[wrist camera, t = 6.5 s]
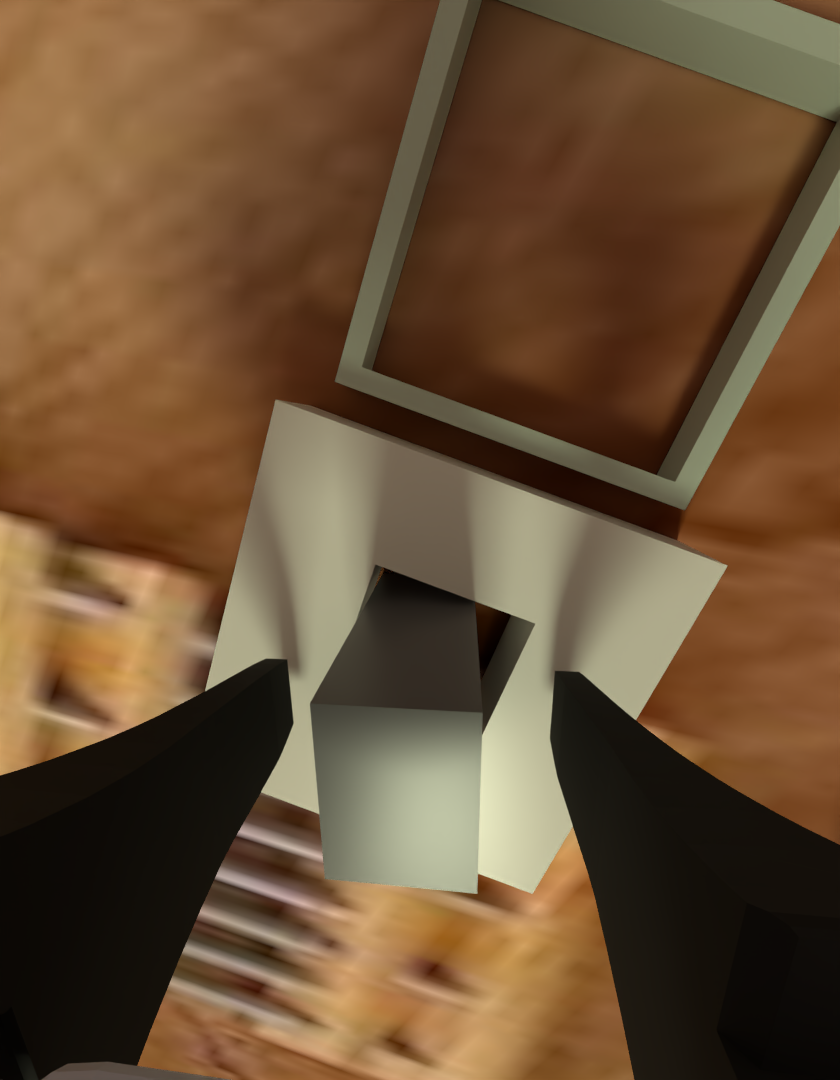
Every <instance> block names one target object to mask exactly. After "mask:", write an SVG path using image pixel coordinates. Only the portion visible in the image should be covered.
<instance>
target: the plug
mask: <svg viewBox="0 0 840 1080" xmlns="http://www.w3.org/2000/svg"><path fill="white" fill-rule="evenodd" d="M310 712H311V724H312V735H313V747H314V758H315V770H316V781H317V793H318V804H319V816H320V827H321V839H322V850H323V862H324V873H325V879H332V880H342V881H352V882H363V883H373V884H383V885H394V886H404V887H414V888H425V889H435V890H445V891H456V892H466V893H476V894H477V881H478V849H479V816H480V784H481V751H482V719H483V710H482V696H481V682H480V667H479V653H478V639H477V625H476V610H475V601H473V600H470V599H467V598H465V597H462V596H459V595H457V594H454V593H451V592H449V591H446V590H443V589H440V588H438V587H435V586H432V585H430V584H427V583H424V582H421V581H419V580H416V579H413V578H411V577H408V576H405V575H403V574H383V575H382V576H381V578H380V580H379V582H378V584H377V585H376V587H375V589H374V591H373V592H372V594H371V596H370V598H369V599H368V601H367V603H366V605H365V607H364V608H363V610H362V612H361V614H360V615H359V617H358V619H357V621H356V622H355V624H354V626H353V628H352V630H351V631H350V633H349V635H348V637H347V638H346V640H345V642H344V644H343V645H342V647H341V649H340V651H339V653H338V654H337V656H336V658H335V660H334V661H333V663H332V665H331V667H330V668H329V670H328V672H327V674H326V676H325V677H324V679H323V681H322V683H321V684H320V686H319V688H318V690H317V691H316V693H315V695H314V697H313V699H312V700H311V702H310Z"/></svg>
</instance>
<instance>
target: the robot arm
mask: <svg viewBox="0 0 840 1080" xmlns="http://www.w3.org/2000/svg"><path fill="white" fill-rule="evenodd" d="M293 724H294V721H293V711H292V701H291V691H290V681H289V671H288V661H287V659H267V658H266V659H264V660H262V661H259V662H257V663H255V664H253V665H251V666H250V667H248V668H246V669H244V670H242V671H240V672H239V673H237V674H235V675H233V676H232V677H230V678H228V679H226V680H224V681H223V682H221V683H219V684H217V685H216V686H214V687H212V688H210V689H208V690H207V691H205V692H203V693H201V694H199V695H198V696H196V697H194V698H192V699H190V700H188V701H186V702H184V703H182V704H180V705H178V706H176V707H174V708H173V709H171V710H169V711H167V712H165V713H163V714H161V715H159V716H157V717H155V718H153V719H151V720H149V721H146V722H144V723H142V724H140V725H138V726H136V727H133V728H131V729H129V730H126V731H124V732H122V733H119V734H117V735H115V736H112V737H110V738H107V739H105V740H103V741H100V742H97V743H95V744H92V745H89V746H86V747H84V748H81V749H78V750H76V751H73V752H70V753H68V754H65V755H62V756H59V757H57V758H54V759H51V760H48V761H45V762H42V763H39V764H36V765H33V766H30V767H27V768H24V769H21V770H17V771H14V772H11V773H7V774H4V775H1V776H0V1080H229V1079H222V1078H215V1077H209V1076H202V1075H195V1074H188V1073H181V1072H174V1071H168V1070H161V1069H154V1068H147V1067H140V1066H137V1064H138V1062H139V1059H140V1056H141V1054H142V1051H143V1048H144V1046H145V1043H146V1041H147V1038H148V1035H149V1033H150V1030H151V1028H152V1025H153V1023H154V1020H155V1018H156V1015H157V1013H158V1010H159V1008H160V1005H161V1003H162V1000H163V998H164V995H165V993H166V990H167V988H168V985H169V983H170V980H171V978H172V975H173V973H174V970H175V968H176V966H177V963H178V961H179V958H180V956H181V954H182V951H183V949H184V947H185V944H186V942H187V940H188V937H189V935H190V933H191V930H192V928H193V926H194V923H195V921H196V919H197V916H198V914H199V912H200V909H201V907H202V905H203V903H204V901H205V898H206V896H207V894H208V892H209V890H210V887H211V885H212V883H213V881H214V879H215V877H216V874H217V872H218V870H219V868H220V866H221V863H222V861H223V859H224V857H225V855H226V854H227V852H228V850H229V848H230V846H231V844H232V842H233V840H234V838H235V837H236V835H237V833H238V831H239V830H240V828H241V826H242V824H243V823H244V821H245V819H246V817H247V816H248V814H249V812H250V810H251V809H252V807H253V805H254V803H255V802H256V800H257V798H258V796H259V795H260V793H261V791H262V789H263V787H264V786H265V784H266V782H267V780H268V779H269V777H270V775H271V773H272V771H273V770H274V768H275V766H276V764H277V762H278V760H279V759H280V756H281V754H282V752H283V749H284V747H285V744H286V742H287V739H288V737H289V734H290V732H291V729H292V727H293ZM550 742H551V748H552V753H553V759H554V763H555V768H556V773H557V778H558V781H559V784H560V787H561V790H562V794H563V797H564V800H565V803H566V806H567V809H568V812H569V815H570V819H571V822H572V825H573V828H574V831H575V834H576V837H577V840H578V843H579V846H580V849H581V852H582V855H583V859H584V862H585V865H586V868H587V871H588V874H589V878H590V881H591V885H592V888H593V892H594V895H595V899H596V904H597V908H598V912H599V917H600V921H601V925H602V930H603V934H604V938H605V943H606V947H607V951H608V956H609V961H610V965H611V970H612V974H613V979H614V984H615V988H616V993H617V997H618V1002H619V1006H620V1011H621V1016H622V1021H623V1025H624V1030H625V1035H626V1040H627V1045H628V1050H629V1055H630V1060H631V1065H632V1070H633V1075H634V1079H635V1080H840V845H839V844H837V843H835V842H832V841H830V840H828V839H826V838H824V837H822V836H820V835H818V834H816V833H814V832H812V831H810V830H808V829H806V828H804V827H802V826H800V825H798V824H796V823H794V822H792V821H791V820H789V819H787V818H785V817H783V816H781V815H779V814H777V813H775V812H774V811H772V810H770V809H768V808H767V807H765V806H763V805H761V804H759V803H758V802H756V801H754V800H752V799H751V798H749V797H747V796H745V795H744V794H742V793H740V792H738V791H737V790H735V789H733V788H732V787H730V786H728V785H727V784H725V783H723V782H722V781H720V780H718V779H717V778H715V777H714V776H712V775H711V774H709V773H708V772H706V771H705V770H703V769H702V768H700V767H699V766H697V765H695V764H694V763H692V762H691V761H689V760H688V759H686V758H685V757H684V756H682V755H681V754H679V753H678V752H676V751H675V750H674V749H672V748H671V747H670V746H668V745H667V744H666V743H664V742H663V741H662V740H660V739H659V738H658V737H656V736H655V735H654V734H652V733H651V732H650V731H648V730H647V729H646V728H645V727H643V726H642V725H641V724H640V723H638V722H637V721H636V720H635V719H634V718H632V717H631V716H630V715H629V714H627V713H626V712H625V711H624V710H623V709H622V708H620V707H619V706H618V705H617V704H616V703H615V702H613V701H612V700H611V699H610V698H609V697H608V696H607V695H605V694H604V693H603V692H602V691H601V690H600V689H599V688H598V687H596V686H595V685H594V684H593V683H592V682H591V681H590V680H589V679H587V678H586V677H585V676H584V675H583V674H581V673H580V672H573V671H555V676H554V689H553V702H552V715H551V728H550Z"/></svg>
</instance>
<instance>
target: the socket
mask: <svg viewBox="0 0 840 1080" xmlns="http://www.w3.org/2000/svg"><path fill="white" fill-rule="evenodd" d="M382 567H384V568H386V569H389V570H392V571H394V572H397V573H400V574H403V575H405V576H408V577H411V578H413V579H416V580H419V581H421V582H424V583H427V584H430V585H432V586H435V587H438V588H440V589H443V590H446V591H449V592H451V593H454V594H457V595H459V596H462V597H465V598H467V599H470V600H473V601H476V602H478V603H481V604H484V605H486V606H489V607H492V608H494V609H497V610H500V611H503V612H505V613H508V614H511V617H510V619H509V621H508V623H507V625H506V628H505V630H504V632H503V634H502V636H501V639H500V641H499V643H498V645H497V647H496V650H495V652H494V654H493V656H492V658H491V660H490V663H489V665H488V667H487V669H486V671H485V674H484V676H483V678H482V680H481V696H482V710H483V719H482V751H481V784H480V816H479V849H478V874H481V875H484V876H486V877H489V878H492V879H494V880H497V881H500V882H502V883H505V884H508V885H510V886H513V887H516V888H518V889H521V890H524V891H526V892H529V893H532V894H533V892H534V890H535V889H536V887H537V885H538V884H539V882H540V880H541V879H542V877H543V875H544V874H545V872H546V870H547V869H548V867H549V865H550V864H551V862H552V860H553V859H554V857H555V855H556V853H557V852H558V850H559V848H560V847H561V845H562V843H563V842H564V840H565V838H566V837H567V835H568V833H569V832H570V830H571V828H572V827H573V825H572V822H571V819H570V815H569V812H568V809H567V806H566V803H565V800H564V797H563V794H562V790H561V787H560V784H559V781H558V778H557V773H556V768H555V763H554V759H553V753H552V748H551V742H550V728H551V715H552V702H553V689H554V676H555V671H573V672H580V673H581V674H583V675H584V676H585V677H586V678H587V679H589V680H590V681H591V682H592V683H593V684H594V685H595V686H596V687H598V688H599V689H600V690H601V691H602V692H603V693H604V694H605V695H607V696H608V697H609V698H610V699H611V700H612V701H613V702H615V703H616V704H617V705H618V706H619V707H620V708H622V709H623V710H624V711H625V712H626V713H627V714H629V715H630V716H631V717H632V718H634V719H635V720H636V719H637V717H638V716H639V714H640V712H641V711H642V709H643V707H644V706H645V704H646V702H647V701H648V699H649V697H650V696H651V694H652V692H653V690H654V689H655V687H656V685H657V684H658V682H659V680H660V679H661V677H662V675H663V674H664V672H665V670H666V669H667V667H668V665H669V664H670V662H671V660H672V659H673V657H674V655H675V654H676V652H677V650H678V648H679V647H680V645H681V643H682V642H683V640H684V638H685V637H686V635H687V633H688V632H689V630H690V628H691V627H692V625H693V623H694V622H695V620H696V618H697V617H698V615H699V613H700V611H701V610H702V608H703V606H704V605H705V603H706V601H707V600H708V598H709V596H710V595H711V593H712V591H713V590H714V588H715V586H716V585H717V583H718V581H719V580H720V578H721V576H722V575H723V573H724V571H725V569H726V568H727V565H725V564H723V563H721V562H719V561H717V560H715V559H713V558H711V557H709V556H707V555H705V554H703V553H701V552H699V551H697V550H695V549H693V548H691V547H689V546H687V545H685V544H683V543H682V542H680V541H677V540H675V539H672V538H669V537H667V536H664V535H661V534H658V533H656V532H653V531H650V530H648V529H645V528H642V527H639V526H637V525H634V524H631V523H628V522H626V521H623V520H620V519H618V518H615V517H612V516H609V515H607V514H604V513H601V512H599V511H596V510H593V509H590V508H588V507H585V506H582V505H580V504H577V503H574V502H571V501H569V500H566V499H563V498H561V497H558V496H555V495H552V494H550V493H547V492H544V491H542V490H539V489H536V488H533V487H531V486H528V485H525V484H522V483H520V482H517V481H514V480H512V479H509V478H506V477H503V476H501V475H498V474H495V473H493V472H490V471H487V470H484V469H482V468H479V467H476V466H474V465H471V464H468V463H465V462H463V461H460V460H457V459H455V458H452V457H449V456H446V455H444V454H441V453H438V452H436V451H433V450H430V449H427V448H425V447H422V446H419V445H417V444H414V443H411V442H408V441H406V440H403V439H400V438H397V437H395V436H392V435H389V434H387V433H384V432H381V431H378V430H376V429H373V428H370V427H368V426H365V425H362V424H359V423H357V422H354V421H351V420H349V419H346V418H343V417H340V416H338V415H335V414H332V413H330V412H327V411H324V410H321V409H319V408H316V407H313V406H310V405H305V404H299V403H293V402H287V401H282V400H275V404H274V408H273V413H272V417H271V421H270V425H269V429H268V433H267V437H266V441H265V446H264V450H263V454H262V458H261V462H260V466H259V470H258V475H257V479H256V483H255V487H254V491H253V495H252V499H251V504H250V508H249V512H248V516H247V520H246V524H245V528H244V532H243V537H242V541H241V545H240V549H239V553H238V557H237V561H236V566H235V570H234V574H233V578H232V582H231V586H230V590H229V595H228V599H227V603H226V607H225V611H224V615H223V619H222V623H221V628H220V632H219V636H218V640H217V644H216V648H215V652H214V657H213V661H212V665H211V669H210V673H209V677H208V681H207V685H206V690H205V691H207V690H208V689H210V688H212V687H214V686H216V685H217V684H219V683H221V682H223V681H224V680H226V679H228V678H230V677H232V676H233V675H235V674H237V673H239V672H240V671H242V670H244V669H246V668H248V667H250V666H251V665H253V664H255V663H257V662H259V661H262V660H264V659H266V658H267V659H287V661H288V671H289V681H290V691H291V701H292V711H293V721H294V724H293V727H292V729H291V732H290V734H289V737H288V739H287V742H286V744H285V747H284V749H283V752H282V754H281V756H280V759H279V760H278V762H277V764H276V766H275V768H274V770H273V771H272V773H271V775H270V777H269V779H268V780H267V782H266V784H265V786H264V787H263V789H262V791H261V792H262V793H265V794H267V795H270V796H273V797H275V798H278V799H281V800H283V801H286V802H289V803H291V804H294V805H297V806H299V807H302V808H305V809H307V810H310V811H313V812H315V813H318V814H319V804H318V793H317V781H316V770H315V758H314V747H313V735H312V724H311V712H310V702H311V700H312V699H313V697H314V695H315V693H316V691H317V690H318V688H319V686H320V684H321V683H322V681H323V679H324V677H325V676H326V674H327V672H328V670H329V668H330V667H331V665H332V663H333V661H334V660H335V658H336V656H337V654H338V653H339V651H340V649H341V647H342V645H343V644H344V642H345V640H346V638H347V637H348V635H349V633H350V631H351V630H352V628H353V626H354V624H355V622H356V621H357V619H358V617H359V615H360V614H361V612H362V610H363V608H364V607H365V605H366V603H367V601H368V599H369V598H370V596H371V594H372V592H373V591H374V588H375V585H376V582H377V579H378V576H379V573H380V571H381V568H382Z"/></svg>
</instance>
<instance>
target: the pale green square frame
mask: <svg viewBox="0 0 840 1080" xmlns="http://www.w3.org/2000/svg"><path fill="white" fill-rule="evenodd" d="M499 1H502V2H505V3H508V4H510V5H513V6H516V7H519V8H522V9H524V10H527V11H530V12H533V13H535V14H538V15H541V16H544V17H546V18H549V19H552V20H555V21H558V22H560V23H563V24H566V25H569V26H571V27H574V28H577V29H580V30H583V31H585V32H588V33H591V34H594V35H596V36H599V37H602V38H605V39H608V40H610V41H613V42H616V43H619V44H621V45H624V46H627V47H630V48H633V49H635V50H638V51H641V52H644V53H646V54H649V55H652V56H655V57H657V58H660V59H663V60H666V61H669V62H671V63H674V64H677V65H680V66H682V67H685V68H688V69H691V70H694V71H696V72H699V73H702V74H705V75H707V76H710V77H713V78H716V79H719V80H721V81H724V82H727V83H730V84H732V85H735V86H738V87H741V88H744V89H746V90H749V91H752V92H755V93H757V94H760V95H763V96H766V97H769V98H771V99H774V100H777V101H780V102H782V103H785V104H788V105H791V106H793V107H796V108H799V109H802V110H805V111H807V112H810V113H813V114H816V115H818V116H821V117H824V118H827V119H830V120H832V121H835V122H837V123H836V125H835V127H834V129H833V131H832V133H831V135H830V137H829V139H828V140H827V142H826V144H825V146H824V148H823V150H822V152H821V154H820V156H819V158H818V160H817V162H816V164H815V166H814V168H813V170H812V172H811V174H810V176H809V178H808V180H807V182H806V184H805V186H804V187H803V189H802V191H801V193H800V195H799V197H798V199H797V201H796V203H795V205H794V207H793V209H792V211H791V213H790V215H789V217H788V219H787V221H786V223H785V225H784V227H783V229H782V231H781V232H780V234H779V236H778V238H777V240H776V242H775V244H774V246H773V248H772V250H771V252H770V254H769V256H768V258H767V260H766V262H765V264H764V266H763V268H762V270H761V272H760V274H759V276H758V278H757V279H756V281H755V283H754V285H753V287H752V289H751V291H750V293H749V295H748V297H747V299H746V301H745V303H744V305H743V307H742V309H741V311H740V313H739V315H738V317H737V319H736V321H735V323H734V325H733V326H732V328H731V330H730V332H729V334H728V336H727V338H726V340H725V342H724V344H723V346H722V348H721V350H720V352H719V354H718V356H717V358H716V360H715V362H714V364H713V366H712V368H711V370H710V371H709V373H708V375H707V377H706V379H705V381H704V383H703V385H702V387H701V389H700V391H699V393H698V395H697V397H696V399H695V401H694V403H693V405H692V407H691V409H690V411H689V413H688V415H687V417H686V418H685V420H684V422H683V424H682V426H681V428H680V430H679V432H678V434H677V436H676V438H675V440H674V442H673V444H672V446H671V448H670V450H669V452H668V454H667V456H666V458H665V460H664V462H663V463H662V465H661V467H660V469H659V471H658V473H657V475H654V474H652V473H649V472H646V471H644V470H641V469H638V468H635V467H633V466H630V465H627V464H624V463H622V462H619V461H616V460H614V459H611V458H608V457H605V456H603V455H600V454H597V453H595V452H592V451H589V450H586V449H584V448H581V447H578V446H575V445H573V444H570V443H567V442H565V441H562V440H559V439H556V438H554V437H551V436H548V435H545V434H543V433H540V432H537V431H535V430H532V429H529V428H526V427H524V426H521V425H518V424H516V423H513V422H510V421H507V420H505V419H502V418H499V417H496V416H494V415H491V414H488V413H486V412H483V411H480V410H477V409H475V408H472V407H469V406H466V405H464V404H461V403H458V402H456V401H453V400H450V399H447V398H445V397H442V396H439V395H436V394H434V393H431V392H428V391H426V390H423V389H420V388H417V387H415V386H412V385H409V384H407V383H404V382H401V381H398V380H396V379H393V378H390V377H387V376H385V375H382V374H379V373H377V372H374V371H372V368H373V365H374V361H375V358H376V354H377V351H378V348H379V344H380V341H381V338H382V334H383V331H384V328H385V324H386V321H387V318H388V314H389V311H390V307H391V304H392V301H393V297H394V294H395V291H396V287H397V284H398V281H399V277H400V274H401V271H402V267H403V264H404V260H405V257H406V254H407V250H408V247H409V244H410V240H411V237H412V234H413V230H414V227H415V224H416V220H417V217H418V213H419V210H420V207H421V203H422V200H423V197H424V193H425V190H426V187H427V183H428V180H429V177H430V173H431V170H432V166H433V163H434V160H435V156H436V153H437V150H438V146H439V143H440V140H441V136H442V133H443V130H444V126H445V123H446V119H447V116H448V113H449V109H450V106H451V103H452V99H453V96H454V93H455V89H456V86H457V83H458V79H459V76H460V72H461V69H462V66H463V62H464V59H465V56H466V52H467V49H468V46H469V42H470V39H471V36H472V32H473V29H474V25H475V22H476V19H477V15H478V12H479V9H480V5H481V2H482V0H440V2H439V6H438V10H437V13H436V17H435V21H434V24H433V28H432V31H431V35H430V39H429V42H428V46H427V49H426V53H425V57H424V60H423V64H422V68H421V71H420V75H419V78H418V82H417V86H416V89H415V93H414V96H413V100H412V104H411V107H410V111H409V115H408V118H407V122H406V125H405V129H404V133H403V136H402V140H401V144H400V147H399V151H398V154H397V158H396V162H395V165H394V169H393V172H392V176H391V180H390V183H389V187H388V191H387V194H386V198H385V201H384V205H383V209H382V212H381V216H380V219H379V223H378V227H377V230H376V234H375V238H374V241H373V245H372V248H371V252H370V256H369V259H368V263H367V266H366V270H365V274H364V277H363V281H362V285H361V288H360V292H359V295H358V299H357V303H356V306H355V310H354V314H353V317H352V321H351V324H350V328H349V332H348V335H347V339H346V342H345V346H344V350H343V353H342V357H341V361H340V364H339V368H338V371H337V375H336V379H335V382H337V383H339V384H342V385H344V386H347V387H350V388H352V389H355V390H358V391H361V392H363V393H366V394H369V395H371V396H374V397H377V398H380V399H382V400H385V401H388V402H390V403H393V404H396V405H399V406H401V407H404V408H407V409H410V410H412V411H415V412H418V413H420V414H423V415H426V416H429V417H431V418H434V419H437V420H439V421H442V422H445V423H448V424H450V425H453V426H456V427H459V428H461V429H464V430H467V431H469V432H472V433H475V434H478V435H480V436H483V437H486V438H488V439H491V440H494V441H497V442H499V443H502V444H505V445H508V446H510V447H513V448H516V449H518V450H521V451H524V452H527V453H529V454H532V455H535V456H537V457H540V458H543V459H546V460H548V461H551V462H554V463H557V464H559V465H562V466H565V467H567V468H570V469H573V470H576V471H578V472H581V473H584V474H586V475H589V476H592V477H595V478H597V479H600V480H603V481H606V482H608V483H611V484H614V485H616V486H619V487H622V488H625V489H627V490H630V491H633V492H635V493H638V494H641V495H644V496H646V497H649V498H652V499H654V500H657V501H660V502H663V503H665V504H668V505H671V506H674V507H677V508H680V509H682V510H685V509H686V508H687V506H688V504H689V502H690V500H691V498H692V497H693V495H694V493H695V491H696V489H697V487H698V485H699V484H700V482H701V480H702V478H703V476H704V474H705V473H706V471H707V469H708V467H709V465H710V463H711V462H712V460H713V458H714V456H715V454H716V452H717V450H718V449H719V447H720V445H721V443H722V441H723V439H724V438H725V436H726V434H727V432H728V430H729V428H730V427H731V425H732V423H733V421H734V419H735V417H736V415H737V414H738V412H739V410H740V408H741V406H742V404H743V403H744V401H745V399H746V397H747V395H748V393H749V392H750V390H751V388H752V386H753V384H754V382H755V380H756V379H757V377H758V375H759V373H760V371H761V369H762V368H763V366H764V364H765V362H766V360H767V358H768V357H769V355H770V353H771V351H772V349H773V347H774V345H775V344H776V342H777V340H778V338H779V336H780V334H781V333H782V331H783V329H784V327H785V325H786V323H787V322H788V320H789V318H790V316H791V314H792V312H793V310H794V309H795V307H796V305H797V303H798V301H799V299H800V298H801V296H802V294H803V292H804V290H805V288H806V287H807V285H808V283H809V281H810V279H811V277H812V275H813V274H814V272H815V270H816V268H817V266H818V264H819V263H820V261H821V259H822V257H823V255H824V253H825V252H826V250H827V248H828V246H829V244H830V242H831V240H832V239H833V237H834V235H835V233H836V231H837V229H838V228H839V226H840V24H838V23H835V22H832V21H829V20H827V19H824V18H821V17H818V16H815V15H813V14H810V13H807V12H804V11H802V10H799V9H796V8H793V7H790V6H788V5H785V4H782V3H779V2H776V1H774V0H499Z"/></svg>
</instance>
